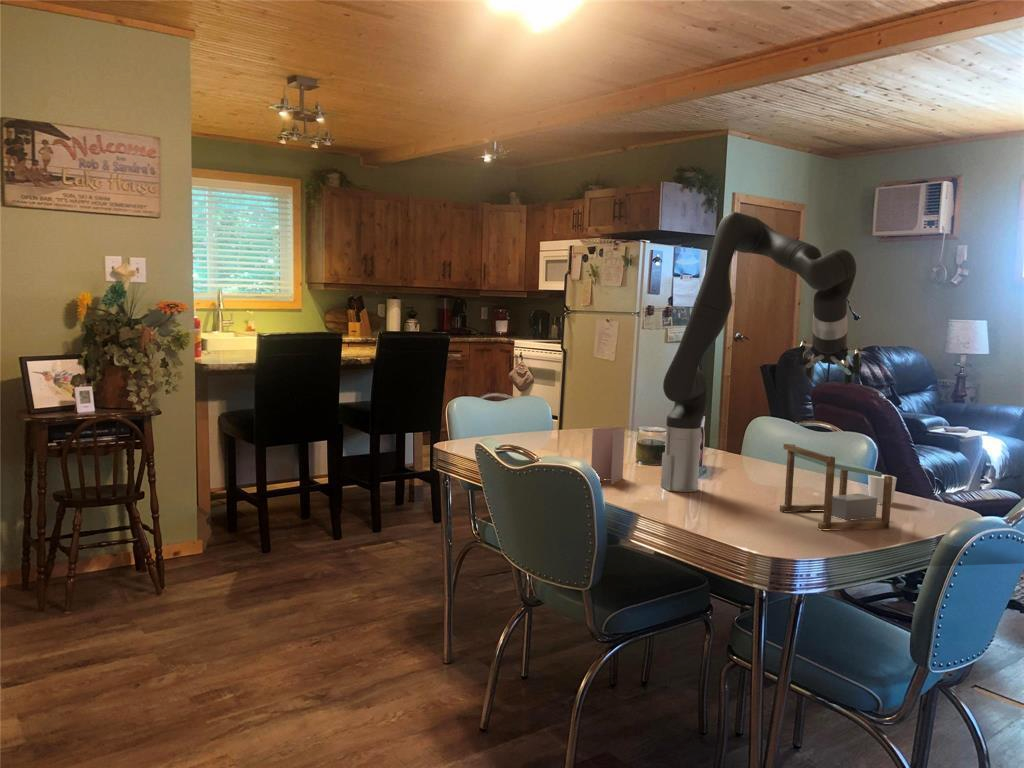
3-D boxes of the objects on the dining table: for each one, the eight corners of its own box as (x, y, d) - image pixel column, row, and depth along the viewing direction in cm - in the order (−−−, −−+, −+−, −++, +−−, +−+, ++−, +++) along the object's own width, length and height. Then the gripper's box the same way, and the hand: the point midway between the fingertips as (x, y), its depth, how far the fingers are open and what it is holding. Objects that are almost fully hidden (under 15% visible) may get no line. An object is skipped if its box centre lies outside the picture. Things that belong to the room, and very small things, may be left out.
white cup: (900, 505, 200) (902, 478, 199) (877, 505, 198) (879, 478, 198) (883, 499, 206) (885, 473, 206) (860, 499, 205) (862, 473, 205)
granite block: (846, 500, 181) (877, 497, 185) (830, 496, 186) (860, 493, 190) (845, 521, 182) (876, 518, 186) (828, 516, 186) (858, 513, 190)
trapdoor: (827, 466, 173) (828, 462, 173) (793, 455, 187) (794, 451, 187) (881, 477, 176) (882, 472, 176) (844, 465, 190) (845, 461, 189)
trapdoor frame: (820, 530, 172) (825, 456, 171) (779, 510, 189) (783, 443, 188) (888, 529, 175) (894, 456, 174) (842, 509, 192) (846, 443, 191)
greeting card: (620, 477, 224) (622, 426, 223) (637, 482, 218) (639, 430, 217) (588, 481, 218) (590, 428, 217) (605, 486, 212) (607, 432, 211)
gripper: (866, 322, 179) (863, 375, 189) (803, 314, 186) (803, 365, 196) (858, 343, 174) (855, 395, 185) (793, 334, 182) (794, 384, 192)
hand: (829, 380), depth 190 cm, fingers open, 8 cm apart
